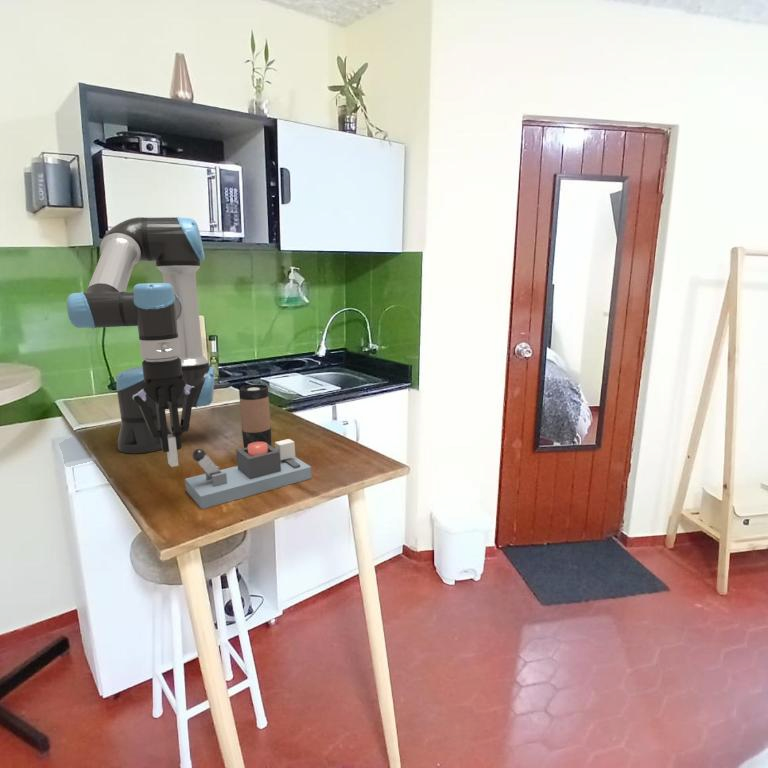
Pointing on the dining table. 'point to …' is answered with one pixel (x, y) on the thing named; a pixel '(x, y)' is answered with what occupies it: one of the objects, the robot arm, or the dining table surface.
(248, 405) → the travel mug
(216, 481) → the panel
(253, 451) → the button
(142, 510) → the dining table surface
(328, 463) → the dining table surface
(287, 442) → the slider
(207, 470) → the lever
